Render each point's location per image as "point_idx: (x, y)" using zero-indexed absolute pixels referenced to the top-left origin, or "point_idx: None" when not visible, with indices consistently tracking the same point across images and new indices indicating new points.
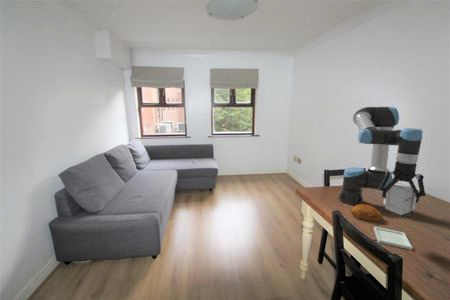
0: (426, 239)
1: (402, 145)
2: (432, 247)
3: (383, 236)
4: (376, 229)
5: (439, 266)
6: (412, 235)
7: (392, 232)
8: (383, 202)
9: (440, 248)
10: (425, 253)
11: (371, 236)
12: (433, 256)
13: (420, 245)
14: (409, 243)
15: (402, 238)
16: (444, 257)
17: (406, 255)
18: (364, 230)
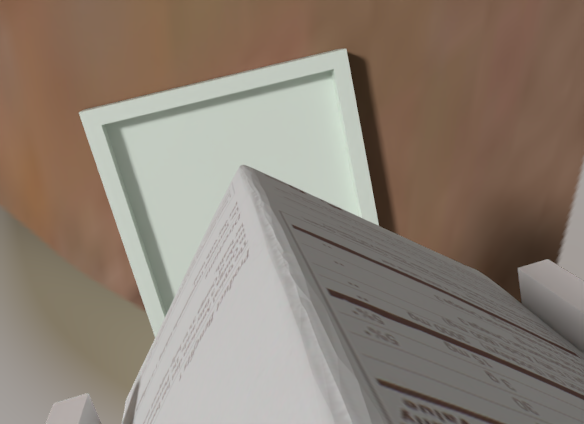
0: (507, 5)
1: None
2: (521, 129)
3: (186, 229)
4: (112, 166)
5: None
6: (409, 2)
7: (250, 90)
8: (52, 411)
9: (571, 104)
10: (459, 259)
11: (97, 276)
12: (500, 263)
13: (445, 158)
14: None
15: (328, 154)
16: (562, 227)
17: None
18: (17, 205)
